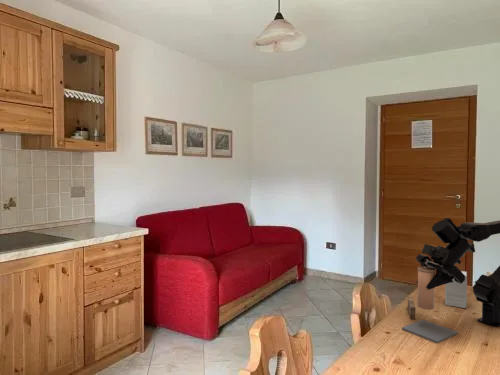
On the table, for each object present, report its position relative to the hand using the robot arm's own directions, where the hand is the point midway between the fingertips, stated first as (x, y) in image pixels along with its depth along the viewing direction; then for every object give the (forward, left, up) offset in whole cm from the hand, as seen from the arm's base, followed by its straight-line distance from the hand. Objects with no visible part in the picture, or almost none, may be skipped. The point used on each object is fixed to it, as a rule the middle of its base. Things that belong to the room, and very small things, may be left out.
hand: (422, 286), depth 122 cm
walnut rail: (-8, -9, -14) cm, 18 cm away
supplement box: (-32, -4, -14) cm, 35 cm away
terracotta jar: (-1, +1, -7) cm, 7 cm away
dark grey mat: (+1, +4, -14) cm, 14 cm away
